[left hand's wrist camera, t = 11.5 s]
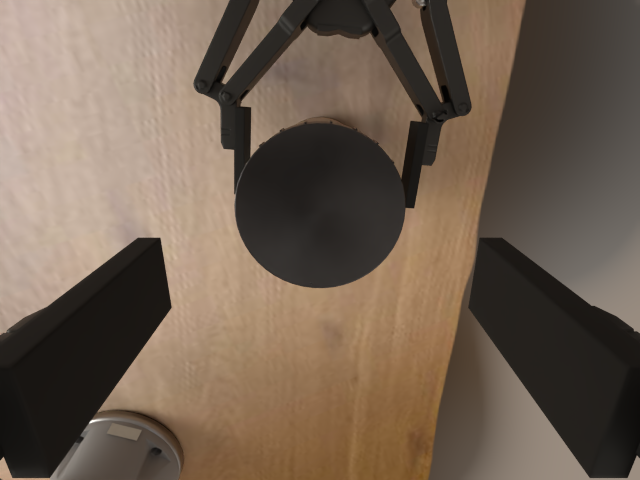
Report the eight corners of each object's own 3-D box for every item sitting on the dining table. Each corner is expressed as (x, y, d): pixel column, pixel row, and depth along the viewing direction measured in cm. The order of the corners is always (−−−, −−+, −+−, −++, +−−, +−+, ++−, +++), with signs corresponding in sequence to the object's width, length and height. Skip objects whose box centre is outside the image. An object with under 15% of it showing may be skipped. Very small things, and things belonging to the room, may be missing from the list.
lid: (414, 250, 23) (423, 263, 21) (272, 290, 24) (268, 306, 22) (377, 96, 20) (383, 96, 18) (215, 150, 21) (205, 155, 19)
